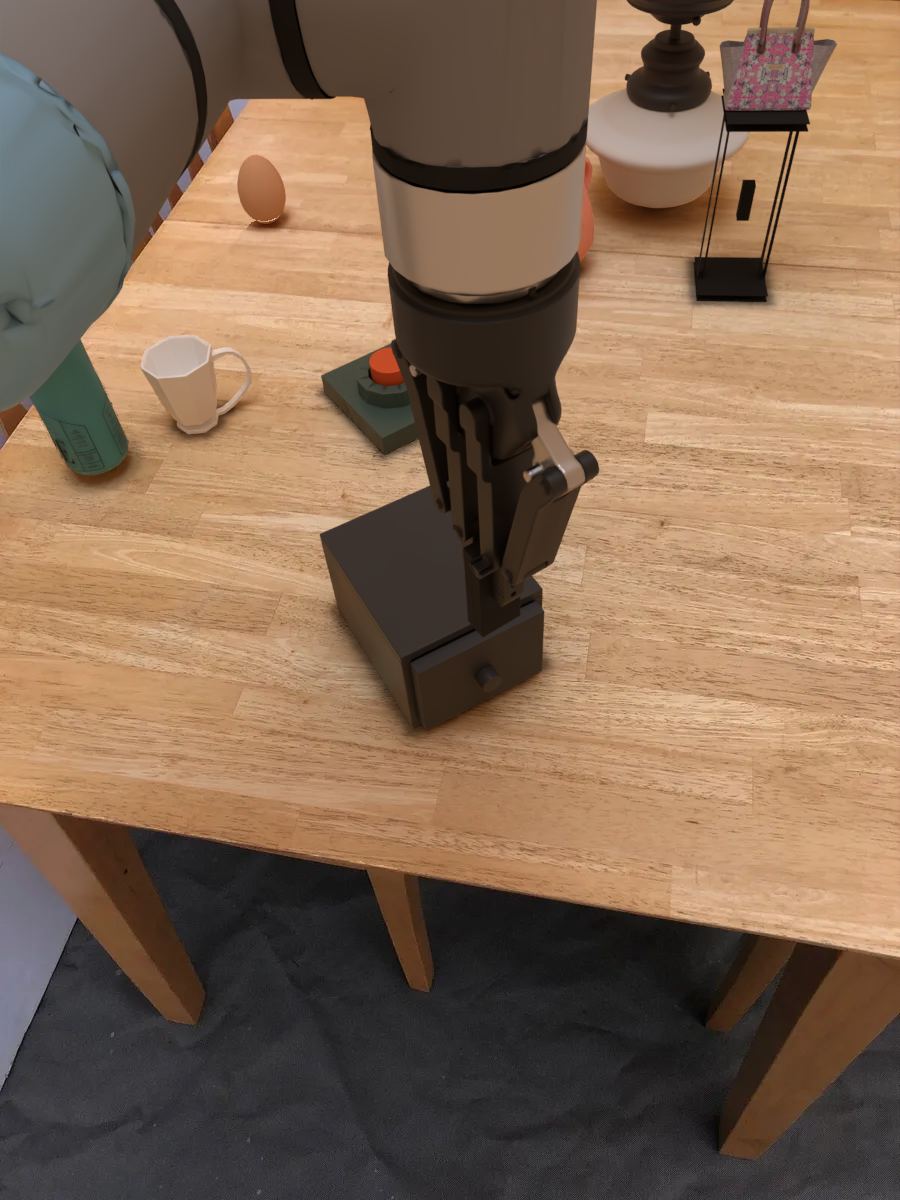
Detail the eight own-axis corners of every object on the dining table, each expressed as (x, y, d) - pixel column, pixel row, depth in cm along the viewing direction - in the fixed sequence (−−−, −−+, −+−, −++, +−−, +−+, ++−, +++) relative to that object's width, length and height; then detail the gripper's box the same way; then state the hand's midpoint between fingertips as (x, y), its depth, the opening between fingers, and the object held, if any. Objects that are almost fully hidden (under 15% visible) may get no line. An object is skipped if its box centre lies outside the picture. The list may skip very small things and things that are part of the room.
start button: (364, 372, 92) (361, 357, 91) (397, 356, 93) (395, 342, 92) (385, 392, 90) (382, 378, 89) (419, 376, 91) (417, 361, 90)
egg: (294, 209, 119) (282, 144, 113) (285, 233, 116) (271, 168, 109) (251, 209, 120) (236, 144, 113) (241, 233, 116) (224, 168, 110)
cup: (156, 411, 96) (131, 346, 89) (248, 381, 98) (229, 316, 92) (174, 452, 92) (148, 387, 85) (269, 419, 94) (251, 354, 88)
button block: (324, 392, 96) (317, 360, 93) (404, 354, 99) (401, 323, 96) (384, 455, 90) (379, 423, 87) (468, 412, 93) (467, 381, 90)
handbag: (683, 300, 102) (733, -6, 79) (681, 262, 107) (727, -38, 83) (781, 302, 101) (861, -9, 78) (774, 263, 106) (848, -41, 82)
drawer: (551, 682, 72) (554, 622, 65) (433, 743, 69) (425, 687, 63) (463, 567, 79) (458, 504, 73) (354, 618, 77) (340, 557, 70)
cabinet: (540, 663, 74) (543, 588, 66) (412, 729, 71) (400, 658, 63) (456, 554, 81) (450, 475, 74) (338, 609, 78) (319, 533, 71)
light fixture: (767, 220, 111) (821, -21, 91) (622, 262, 108) (646, 20, 88) (682, 150, 123) (714, -78, 103) (549, 185, 119) (556, -44, 99)
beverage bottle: (149, 452, 92) (73, 272, 76) (108, 496, 88) (19, 318, 73) (97, 436, 94) (12, 258, 78) (55, 479, 90) (-43, 301, 75)
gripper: (672, 292, 33) (616, 661, 52) (467, 155, 40) (482, 524, 59) (503, 374, 31) (508, 730, 49) (316, 214, 38) (382, 578, 56)
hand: (494, 618), depth 54 cm, fingers closed
